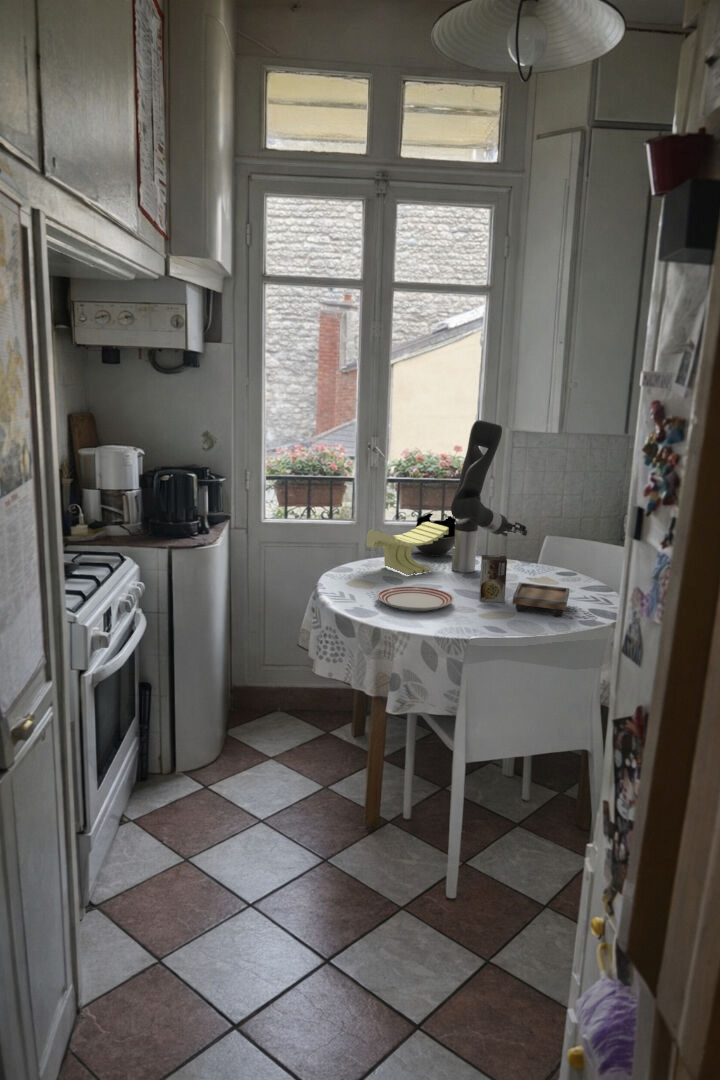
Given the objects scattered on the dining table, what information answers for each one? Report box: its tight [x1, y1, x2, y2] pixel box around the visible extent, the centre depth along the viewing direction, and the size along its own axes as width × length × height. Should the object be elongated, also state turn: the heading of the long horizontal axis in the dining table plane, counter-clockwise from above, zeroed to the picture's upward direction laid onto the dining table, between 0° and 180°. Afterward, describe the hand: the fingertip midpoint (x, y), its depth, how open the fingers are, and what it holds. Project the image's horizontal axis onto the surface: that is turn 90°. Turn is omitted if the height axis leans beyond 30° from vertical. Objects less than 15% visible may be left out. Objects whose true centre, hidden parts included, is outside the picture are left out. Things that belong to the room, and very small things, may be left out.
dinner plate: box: [376, 585, 455, 612], centre depth 285 cm, size 28×27×3 cm
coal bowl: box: [413, 512, 457, 557], centre depth 351 cm, size 20×20×19 cm
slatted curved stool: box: [366, 521, 449, 575], centre depth 326 cm, size 30×16×18 cm, turn 127°
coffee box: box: [478, 554, 508, 603], centre depth 291 cm, size 9×6×16 cm
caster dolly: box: [512, 582, 570, 617], centre depth 284 cm, size 18×18×6 cm
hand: (516, 533), depth 299 cm, fingers open, 8 cm apart
